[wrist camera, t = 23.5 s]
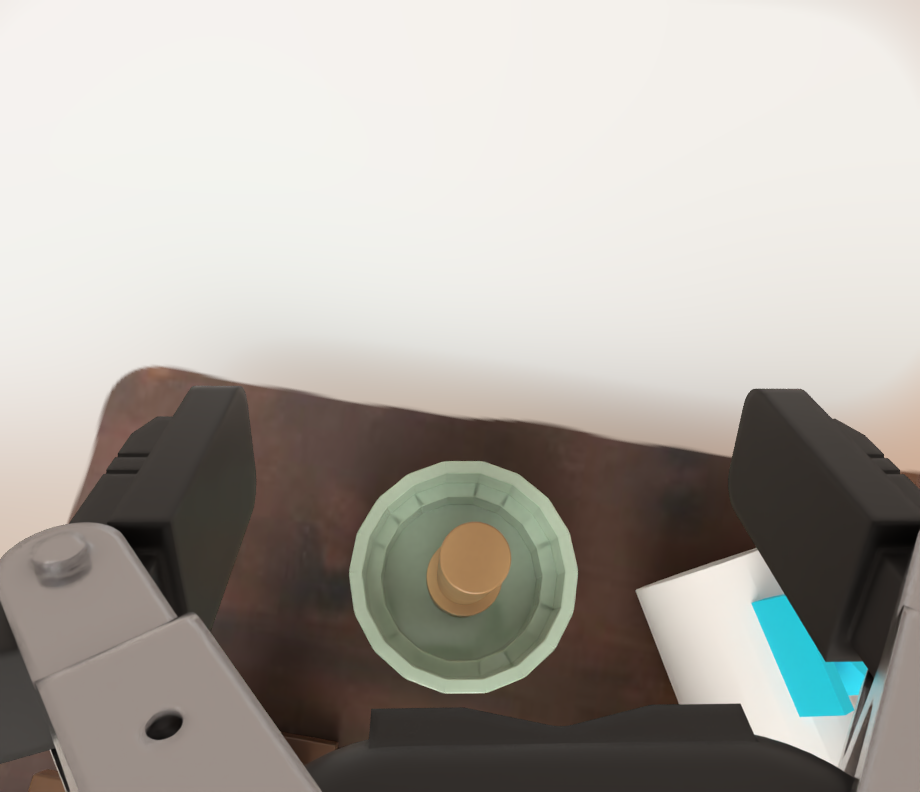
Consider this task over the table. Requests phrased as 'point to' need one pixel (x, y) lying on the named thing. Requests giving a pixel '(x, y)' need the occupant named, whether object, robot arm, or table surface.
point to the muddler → (468, 569)
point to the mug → (751, 653)
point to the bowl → (405, 578)
